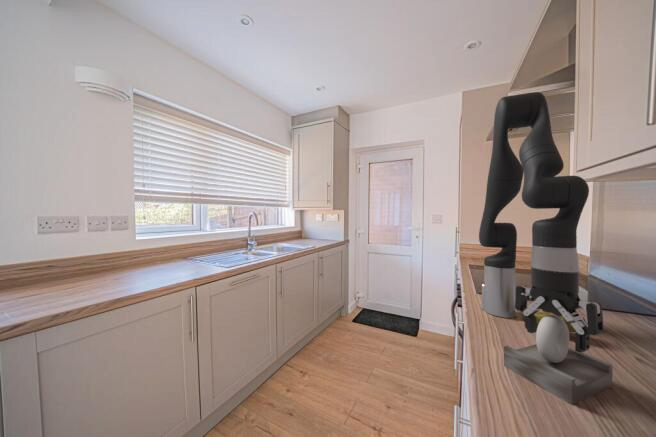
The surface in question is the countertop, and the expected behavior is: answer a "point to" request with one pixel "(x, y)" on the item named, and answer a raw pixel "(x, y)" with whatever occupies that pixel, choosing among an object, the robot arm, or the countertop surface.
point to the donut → (552, 338)
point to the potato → (541, 315)
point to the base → (561, 372)
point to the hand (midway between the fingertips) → (554, 340)
